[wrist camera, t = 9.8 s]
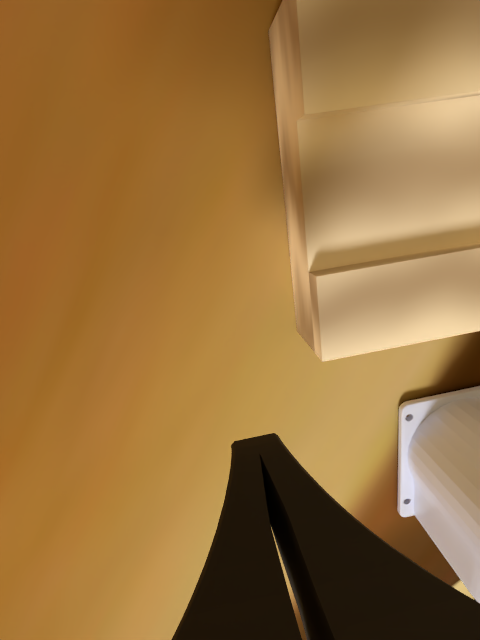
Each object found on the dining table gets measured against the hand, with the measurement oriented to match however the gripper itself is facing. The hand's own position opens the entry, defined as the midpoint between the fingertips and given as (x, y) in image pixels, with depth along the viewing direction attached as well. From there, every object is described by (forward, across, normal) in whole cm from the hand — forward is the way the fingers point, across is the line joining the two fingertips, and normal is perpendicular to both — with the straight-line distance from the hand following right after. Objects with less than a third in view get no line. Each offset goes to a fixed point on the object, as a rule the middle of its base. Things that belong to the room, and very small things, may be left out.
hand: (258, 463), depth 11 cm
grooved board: (+9, -12, -7) cm, 17 cm away
